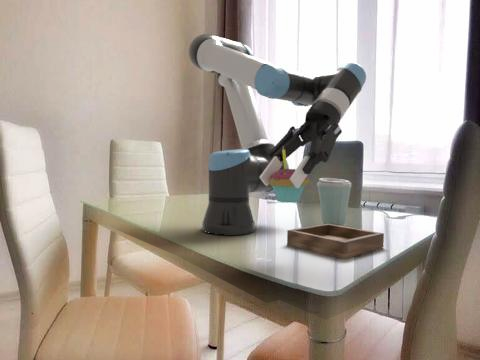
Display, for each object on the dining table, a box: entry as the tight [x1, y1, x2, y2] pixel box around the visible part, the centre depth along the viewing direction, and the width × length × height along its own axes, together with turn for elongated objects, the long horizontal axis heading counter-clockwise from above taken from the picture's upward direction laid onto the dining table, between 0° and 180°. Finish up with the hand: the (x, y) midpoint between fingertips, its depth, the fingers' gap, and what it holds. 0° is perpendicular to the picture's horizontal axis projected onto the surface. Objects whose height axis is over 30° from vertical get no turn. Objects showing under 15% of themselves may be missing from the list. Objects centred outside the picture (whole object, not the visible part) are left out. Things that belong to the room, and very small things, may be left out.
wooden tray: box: [286, 224, 385, 260], centre depth 85 cm, size 16×16×4 cm
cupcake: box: [269, 147, 310, 203], centre depth 77 cm, size 9×8×12 cm
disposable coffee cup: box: [316, 177, 352, 226], centre depth 113 cm, size 11×11×15 cm
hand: (278, 182), depth 75 cm, fingers closed on cupcake, 8 cm apart
